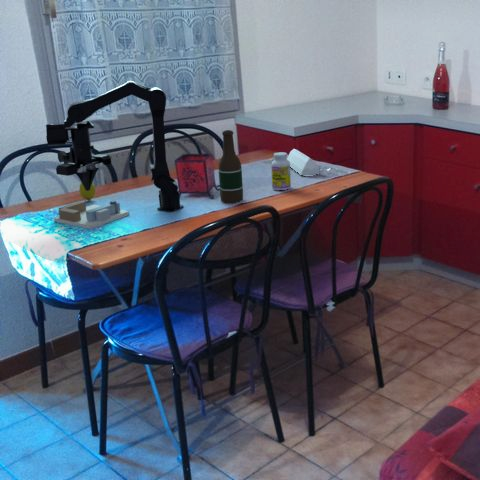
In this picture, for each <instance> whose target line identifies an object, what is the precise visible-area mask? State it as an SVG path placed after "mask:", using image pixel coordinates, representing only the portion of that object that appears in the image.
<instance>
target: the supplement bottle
mask: <svg viewBox="0 0 480 480" xmlns="http://www.w3.org/2000/svg"><path fill="white" fill-rule="evenodd" d="M287 158H288V153H287V152H283V151H281V152H280V151H279V152H274V153H273V160H272V162H271V165H270V166H271V186H272V187H271V188H272V190H273V189H274V191H276V190H285V191H288V190H287V189H289V190H290V189H291V188H292V187H291V185H292V183H291V168H290V162H289V161H288V160H287Z"/></svg>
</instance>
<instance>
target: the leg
mask: <svg viewBox="0 0 480 480" xmlns="http://www.w3.org/2000/svg"><path fill="white" fill-rule="evenodd" d="M99 206H100V207H97V208H94V209H91V210H88V211H86V217H87V220H88V221H94V220H96V213H95V212H96V211H99V210H102V209H109V212H110V215H112V214H115V213H118V212H120V210H121V205H120V202H119V201H116V200H111V201H110V202H109V203H107V204H103V205H99Z"/></svg>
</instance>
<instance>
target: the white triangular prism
mask: <svg viewBox="0 0 480 480" xmlns="http://www.w3.org/2000/svg"><path fill="white" fill-rule="evenodd" d="M287 160H288V161H289V162H290V167H291V168H293V169H294V170H295V171H296V173H297V172H298V173H299V174H298V173H297V174H298V175H299V176H301V175H314V174H318V173H319V174H320V167H319V166H318V164H317V163H316V161H315V160H313V159H312V158H310V157H309V156H307V155H306V154H304V153H303V152H301V151H299V150H298V149H295V148H293V149H292V150H290V152H289V154H288V155H287ZM291 168H290V169H291ZM294 170H293V171H294ZM295 171H294V172H295ZM319 174H318V175H319Z"/></svg>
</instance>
